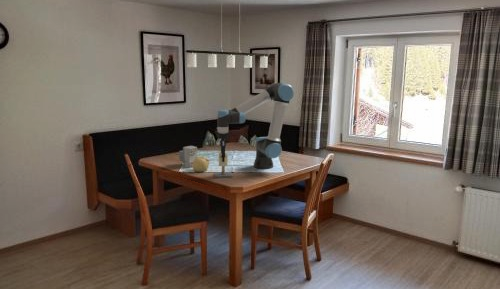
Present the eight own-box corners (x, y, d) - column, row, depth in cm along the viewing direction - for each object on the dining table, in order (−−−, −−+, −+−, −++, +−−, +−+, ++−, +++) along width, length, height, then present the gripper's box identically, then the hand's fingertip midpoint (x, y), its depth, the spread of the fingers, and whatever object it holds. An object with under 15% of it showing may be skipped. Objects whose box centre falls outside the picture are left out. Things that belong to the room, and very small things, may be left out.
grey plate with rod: (231, 173, 277) (231, 160, 275) (232, 177, 267) (232, 163, 265) (214, 173, 276) (214, 160, 273) (214, 177, 266) (214, 163, 264)
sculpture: (211, 169, 286) (211, 155, 284) (203, 173, 276) (203, 159, 273) (198, 168, 291) (197, 154, 289) (189, 172, 280) (189, 157, 278)
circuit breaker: (185, 163, 305) (184, 144, 302) (197, 166, 296) (197, 147, 293) (178, 164, 299) (177, 146, 296) (190, 168, 290) (190, 148, 287)
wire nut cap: (227, 164, 273) (227, 152, 271) (227, 166, 267) (227, 154, 265) (218, 164, 272) (218, 152, 271) (219, 166, 266) (218, 154, 265)
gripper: (217, 130, 274) (217, 161, 278) (217, 135, 255) (218, 168, 260) (227, 130, 275) (227, 161, 279) (229, 134, 256) (229, 168, 261)
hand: (222, 164), depth 270 cm, fingers closed on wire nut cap, 6 cm apart
